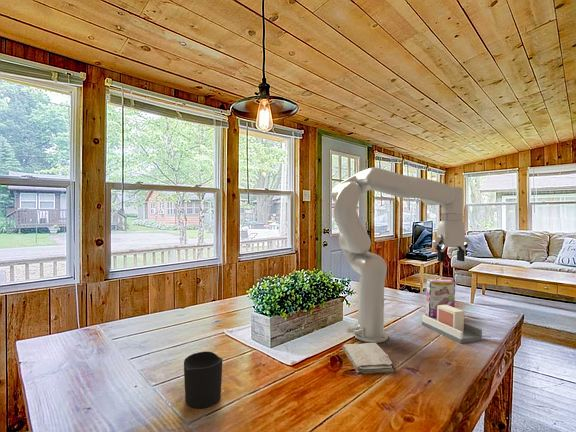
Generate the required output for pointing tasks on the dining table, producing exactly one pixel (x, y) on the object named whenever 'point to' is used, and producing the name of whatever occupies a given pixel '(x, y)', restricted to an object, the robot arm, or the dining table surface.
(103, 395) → the dining table surface
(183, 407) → the dining table surface
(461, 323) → the product box
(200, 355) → the pen holder
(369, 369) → the washcloth
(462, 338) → the shelf
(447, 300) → the candy bar box
